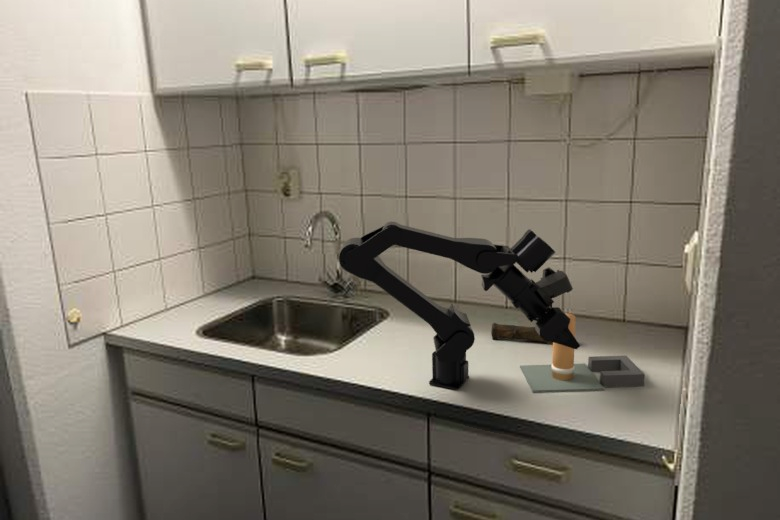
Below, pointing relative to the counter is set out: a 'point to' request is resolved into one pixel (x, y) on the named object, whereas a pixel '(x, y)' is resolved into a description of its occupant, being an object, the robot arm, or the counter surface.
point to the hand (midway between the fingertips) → (571, 338)
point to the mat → (544, 382)
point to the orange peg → (564, 357)
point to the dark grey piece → (616, 371)
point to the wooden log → (516, 333)
